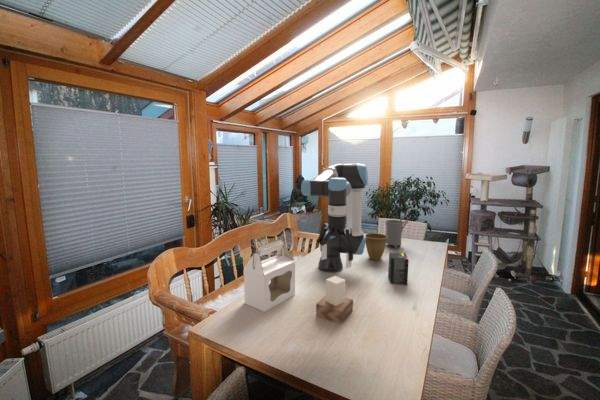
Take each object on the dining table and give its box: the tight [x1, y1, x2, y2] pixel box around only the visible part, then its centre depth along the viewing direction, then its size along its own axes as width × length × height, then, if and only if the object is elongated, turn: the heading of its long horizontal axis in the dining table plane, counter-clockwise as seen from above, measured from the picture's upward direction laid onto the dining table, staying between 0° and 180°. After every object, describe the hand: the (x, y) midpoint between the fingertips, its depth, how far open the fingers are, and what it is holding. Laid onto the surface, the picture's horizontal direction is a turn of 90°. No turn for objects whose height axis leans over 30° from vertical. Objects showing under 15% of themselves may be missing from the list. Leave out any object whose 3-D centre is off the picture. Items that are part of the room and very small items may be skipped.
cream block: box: [324, 275, 346, 306], centre depth 125 cm, size 6×6×10 cm
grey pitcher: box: [385, 215, 410, 250], centre depth 223 cm, size 19×15×25 cm
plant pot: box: [364, 233, 387, 261], centre depth 196 cm, size 15×15×16 cm
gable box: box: [243, 239, 296, 313], centre depth 138 cm, size 22×13×28 cm, turn 142°
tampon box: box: [387, 251, 410, 286], centre depth 161 cm, size 11×9×15 cm
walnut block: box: [315, 295, 354, 325], centre depth 126 cm, size 12×12×6 cm
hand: (335, 263), depth 124 cm, fingers open, 13 cm apart
